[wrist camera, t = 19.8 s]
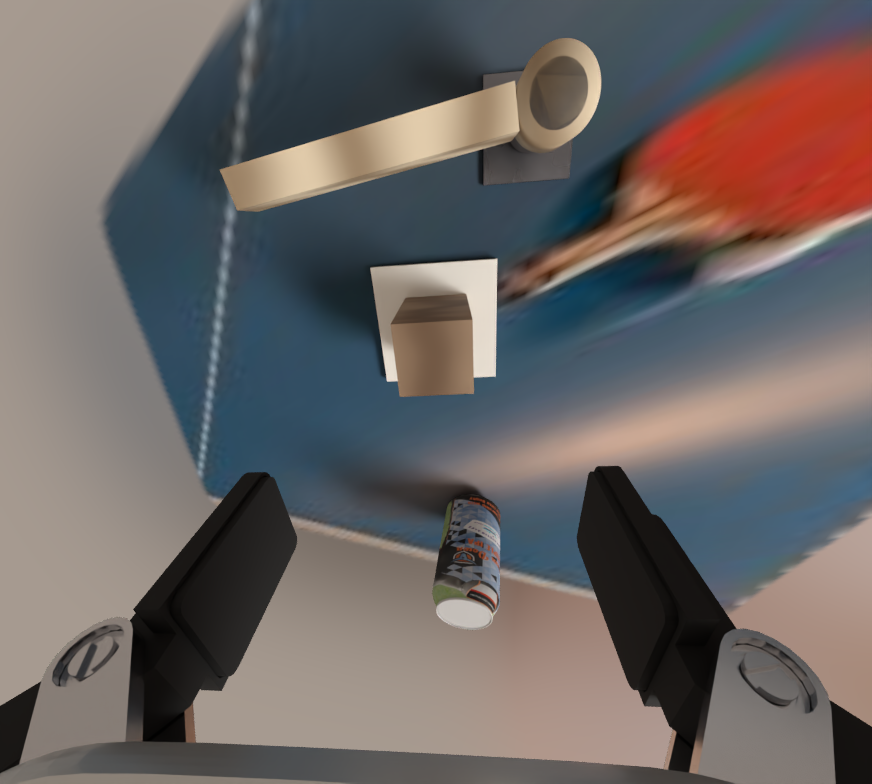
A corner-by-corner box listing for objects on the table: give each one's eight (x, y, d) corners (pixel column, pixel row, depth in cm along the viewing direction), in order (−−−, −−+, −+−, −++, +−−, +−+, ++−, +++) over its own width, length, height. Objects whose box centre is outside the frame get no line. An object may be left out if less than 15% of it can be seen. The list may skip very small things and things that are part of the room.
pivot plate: (578, 67, 21) (579, 65, 21) (567, 178, 24) (568, 178, 24) (482, 76, 21) (483, 74, 21) (483, 185, 24) (483, 185, 24)
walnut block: (466, 293, 27) (472, 319, 20) (467, 351, 29) (473, 393, 22) (405, 297, 27) (390, 324, 20) (411, 354, 30) (399, 396, 23)
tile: (496, 258, 26) (497, 259, 26) (494, 373, 31) (495, 376, 30) (371, 266, 27) (370, 267, 26) (388, 378, 32) (387, 381, 31)
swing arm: (558, 79, 21) (601, 25, 15) (562, 155, 23) (601, 132, 17) (268, 165, 24) (210, 147, 18) (292, 227, 25) (245, 229, 19)
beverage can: (508, 509, 39) (531, 619, 28) (458, 536, 41) (462, 647, 30) (475, 476, 37) (487, 581, 26) (425, 507, 39) (416, 614, 28)
